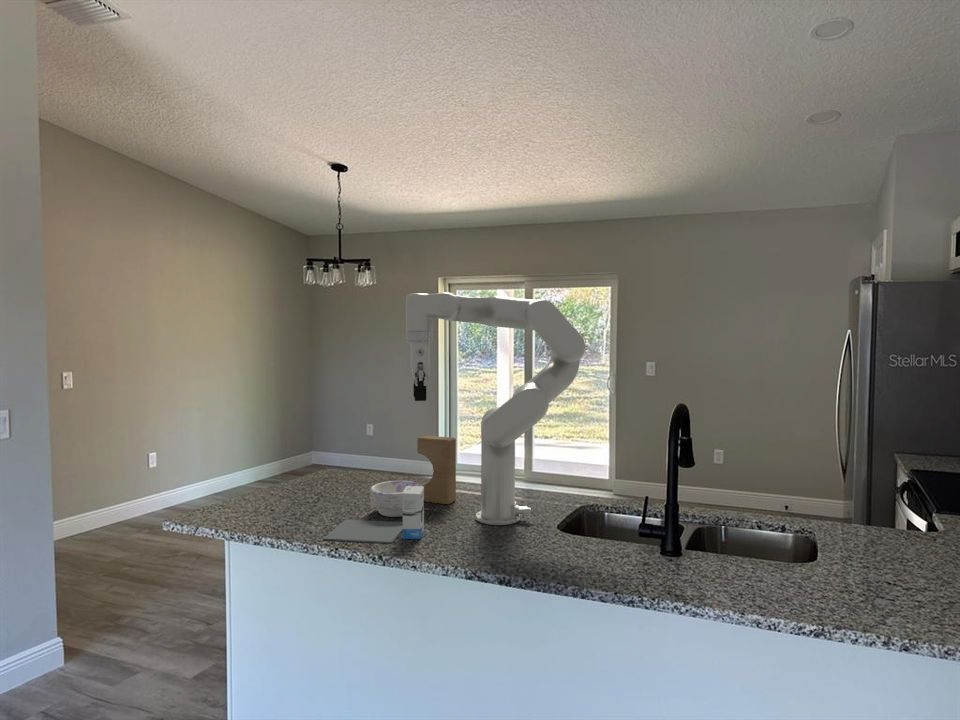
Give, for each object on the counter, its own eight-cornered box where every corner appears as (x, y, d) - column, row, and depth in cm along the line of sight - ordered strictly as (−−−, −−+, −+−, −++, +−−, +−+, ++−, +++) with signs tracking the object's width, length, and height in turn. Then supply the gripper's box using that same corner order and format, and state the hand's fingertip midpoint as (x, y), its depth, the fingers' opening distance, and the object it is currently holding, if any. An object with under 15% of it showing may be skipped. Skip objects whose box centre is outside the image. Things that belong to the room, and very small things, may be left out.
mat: (408, 523, 168) (408, 522, 168) (392, 543, 153) (392, 541, 153) (345, 521, 171) (345, 519, 171) (323, 540, 155) (323, 538, 155)
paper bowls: (361, 518, 174) (361, 490, 173) (382, 504, 188) (382, 478, 188) (412, 522, 170) (412, 494, 170) (429, 507, 185) (429, 481, 184)
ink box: (421, 539, 156) (420, 493, 155) (401, 539, 156) (401, 493, 155) (424, 528, 164) (424, 485, 164) (406, 528, 164) (406, 485, 164)
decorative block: (416, 501, 192) (416, 437, 191) (425, 496, 197) (425, 435, 196) (448, 505, 187) (448, 440, 186) (456, 500, 192) (456, 437, 191)
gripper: (434, 338, 163) (435, 402, 164) (431, 337, 180) (431, 395, 181) (406, 338, 162) (406, 402, 163) (405, 337, 179) (405, 396, 180)
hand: (419, 398), depth 172 cm, fingers open, 9 cm apart
